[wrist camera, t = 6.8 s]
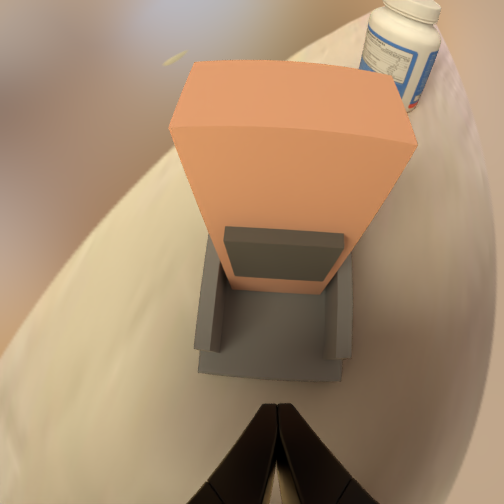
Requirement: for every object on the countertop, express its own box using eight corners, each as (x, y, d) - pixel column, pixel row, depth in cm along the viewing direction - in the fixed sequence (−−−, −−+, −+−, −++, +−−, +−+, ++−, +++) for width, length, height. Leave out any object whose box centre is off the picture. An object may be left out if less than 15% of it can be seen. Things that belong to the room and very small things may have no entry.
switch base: (336, 380, 13) (382, 388, 7) (202, 372, 13) (160, 375, 8) (336, 196, 17) (362, 122, 11) (224, 190, 17) (208, 113, 11)
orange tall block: (319, 303, 13) (423, 164, 4) (231, 297, 13) (162, 146, 4) (320, 253, 14) (391, 75, 5) (236, 248, 14) (194, 62, 5)
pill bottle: (395, 76, 21) (421, -11, 12) (426, 115, 19) (467, 21, 10) (343, 75, 21) (361, -24, 12) (372, 116, 19) (406, 3, 10)
